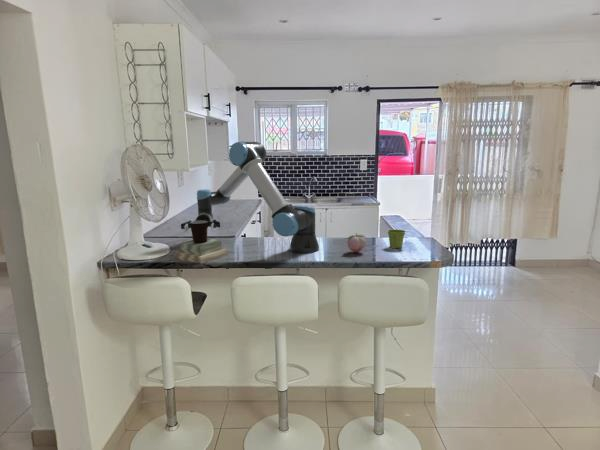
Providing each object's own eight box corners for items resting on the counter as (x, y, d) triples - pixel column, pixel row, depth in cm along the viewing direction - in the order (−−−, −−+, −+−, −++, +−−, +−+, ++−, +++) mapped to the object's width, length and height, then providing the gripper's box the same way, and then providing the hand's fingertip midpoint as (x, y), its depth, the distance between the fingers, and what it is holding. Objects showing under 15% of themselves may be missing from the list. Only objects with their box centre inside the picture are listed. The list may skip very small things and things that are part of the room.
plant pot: (391, 244, 212) (391, 228, 210) (407, 246, 206) (408, 230, 205) (383, 247, 204) (384, 231, 203) (401, 250, 199) (401, 233, 197)
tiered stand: (227, 254, 197) (226, 240, 195) (201, 263, 182) (200, 248, 180) (202, 250, 206) (201, 236, 205) (175, 258, 191) (173, 243, 190)
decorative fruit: (360, 249, 201) (360, 230, 199) (368, 253, 194) (368, 233, 192) (343, 251, 198) (343, 232, 196) (351, 255, 191) (351, 235, 189)
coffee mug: (197, 239, 198) (196, 220, 196) (212, 240, 195) (211, 220, 194) (184, 244, 187) (182, 224, 185) (199, 245, 184) (198, 225, 183)
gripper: (226, 226, 211) (224, 234, 190) (180, 228, 208) (173, 237, 187) (226, 212, 210) (223, 219, 189) (179, 214, 207) (172, 222, 185)
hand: (198, 228), depth 188 cm, fingers open, 12 cm apart
